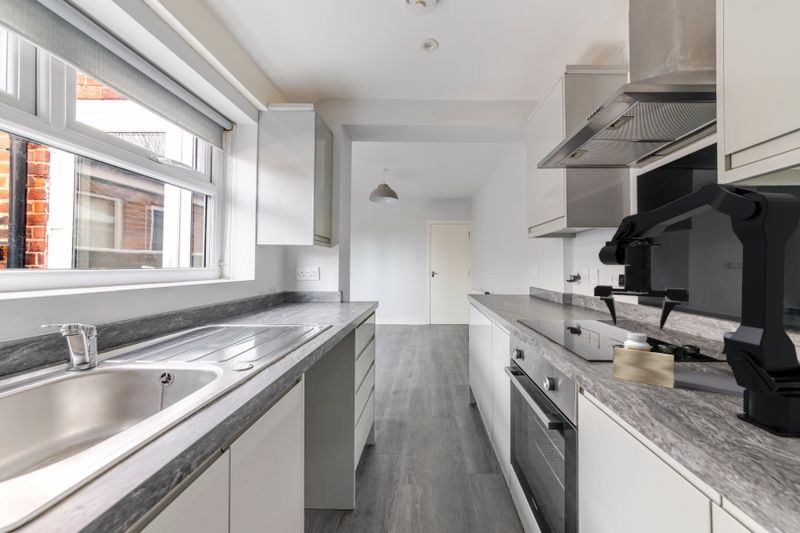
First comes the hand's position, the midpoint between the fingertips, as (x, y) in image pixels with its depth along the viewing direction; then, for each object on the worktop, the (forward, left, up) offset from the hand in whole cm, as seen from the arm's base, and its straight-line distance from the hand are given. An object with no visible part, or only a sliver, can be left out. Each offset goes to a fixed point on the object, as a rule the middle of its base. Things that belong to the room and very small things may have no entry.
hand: (637, 326), depth 80 cm
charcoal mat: (-8, -10, -11) cm, 17 cm away
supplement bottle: (0, 0, -12) cm, 12 cm away
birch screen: (-7, +4, -12) cm, 14 cm away
